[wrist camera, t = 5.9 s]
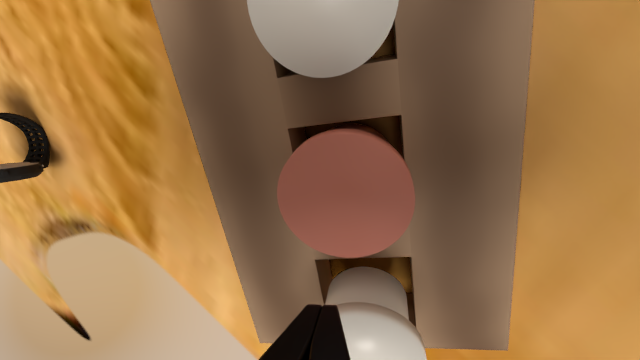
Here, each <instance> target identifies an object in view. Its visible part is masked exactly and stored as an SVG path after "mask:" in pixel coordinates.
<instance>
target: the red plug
mask: <svg viewBox="0 0 640 360" xmlns="http://www.w3.org/2000/svg"><path fill="white" fill-rule="evenodd" d="M277 199H278V205H279V209H280V212H281V215H282V217H283V219H284V221H285V222H286V224H287V226H288V227H289V228H290V230H291V231H292V232H293V233H294V234H295V235H296V236H297V237H298V238H299V239H300V240H301V241H302V242H304V243H305V244H306V245H308V246H310V247H311V248H313V249H315V250H317V251H319V252H322V253H324V254H327V255H331V256H335V257H343V258H357V257H364V256H369V255H372V254H375V253H378V252H380V251H382V250H384V249H386V248H388V247H389V246H391V245H392V244H393V243H395V242H396V241H397V240H398V239H399V238H400V237H401V236H402V235H403V233H404V232H405V231H406V229H407V228H408V226H409V224H410V222H411V219H412V216H413V213H414V208H415V191H414V185H413V180H412V177H411V173H410V170H409V168H408V166H407V164H406V162H405V161H404V159H403V158H402V156H401V155H400V154H399V153H398V151H397V150H396V149H395V148H394V147H392V146H391V145H390V144H389V142H388V141H387V140H386V138H385V137H384V136H383V135H381V134H380V133H379V132H378V131H376V130H375V129H373V128H371V127H368V126H365V125H361V124H354V123H350V124H342V125H338V126H335V127H333V128H331V129H329V130H328V131H325V132H322V133H319V134H317V135H315V136H312V137H311V138H309V139H308V140H306V141H305V142H303V143H302V144H301V145H300V146H299V147H298V148H297V149H296V150H295V151H294V152H293V154H292V155H291V156H290V158H289V159H288V160H287V162H286V164H285V165H284V167H283V169H282V171H281V173H280V177H279V180H278V186H277Z"/></svg>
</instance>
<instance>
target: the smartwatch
mask: <svg viewBox="0 0 640 360" xmlns="http://www.w3.org/2000/svg"><path fill="white" fill-rule="evenodd" d="M0 119H2V120H5V121H8V122H10V123H12V124H14V125H16V126H17V127H18V128H19V129H21V130H22V131H23V132H24V134H25V136H26V137H27V141H28V144H29V150H28V154H27V156H26V158H25V160H24V161H23V162H21V163H7V164H0V183H2V182H9V181H16V180H22V179H28V178H32V177H36V176H39V175H40V174H41V173H42V172H43V171H44V170H43V168H46V167H48V165H49V159H50V152H49V144H48V139H47V136H46V134H45V132H44V130H43V129H42V127H41V126H39V125H38V124H37V123H36V122H34V121H32V120H30V119H28V118H26V117H23V116H20V115H16V114H12V113H0ZM20 123H21V124H20ZM23 125H24V126H26V127H24V126H23ZM31 125H32V126H31ZM27 129H29V130H30V131H28V130H27ZM35 129H37V130H35ZM30 133H32V134H33V135H32V136H30ZM38 133H40V134H41V135H38ZM32 138H35V141H32ZM39 138H42V139H43V140H40V139H39ZM41 143H43V144H44V146H41ZM33 144H36V146H33ZM41 149H44V151H41ZM34 150H36V151H34ZM41 156H42V157H41Z"/></svg>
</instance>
